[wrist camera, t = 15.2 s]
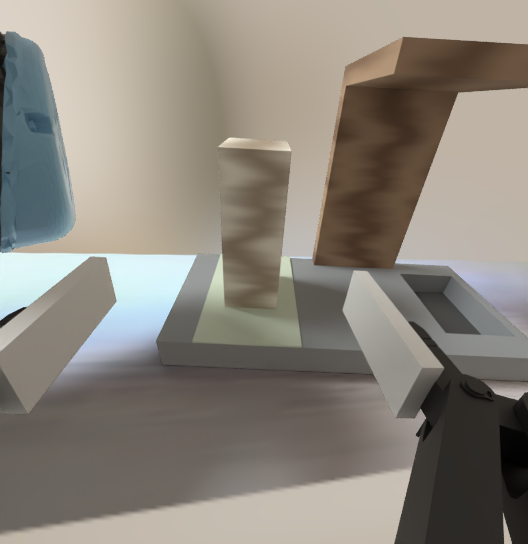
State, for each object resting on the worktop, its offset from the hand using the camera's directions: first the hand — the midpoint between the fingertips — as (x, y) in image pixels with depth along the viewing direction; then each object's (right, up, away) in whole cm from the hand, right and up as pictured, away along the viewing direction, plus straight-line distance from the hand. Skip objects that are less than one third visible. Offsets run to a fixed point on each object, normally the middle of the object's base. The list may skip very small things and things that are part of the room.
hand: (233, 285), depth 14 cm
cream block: (0, -1, +13) cm, 13 cm away
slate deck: (+9, -4, +15) cm, 18 cm away
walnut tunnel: (+13, -1, +15) cm, 20 cm away
